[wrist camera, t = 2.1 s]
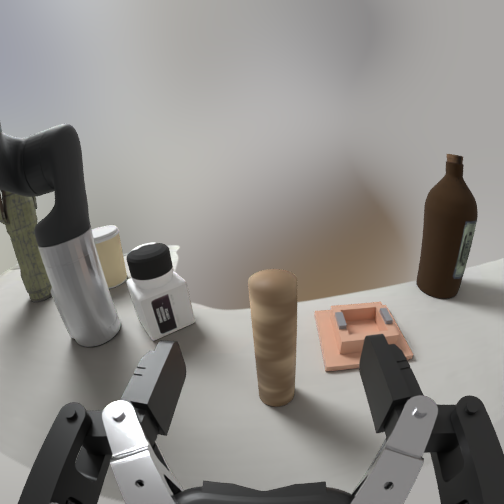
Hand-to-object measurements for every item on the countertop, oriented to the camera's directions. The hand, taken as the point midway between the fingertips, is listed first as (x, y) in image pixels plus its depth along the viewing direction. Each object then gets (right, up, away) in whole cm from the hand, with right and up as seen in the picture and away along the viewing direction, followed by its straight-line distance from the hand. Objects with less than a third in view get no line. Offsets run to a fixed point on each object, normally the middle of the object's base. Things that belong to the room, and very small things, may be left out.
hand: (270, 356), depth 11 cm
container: (-15, -7, +32) cm, 36 cm away
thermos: (-52, -6, +42) cm, 67 cm away
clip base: (+15, -8, +24) cm, 29 cm away
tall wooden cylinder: (+2, -12, +17) cm, 21 cm away
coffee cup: (-33, -2, +46) cm, 57 cm away
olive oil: (+35, -3, +33) cm, 48 cm away
